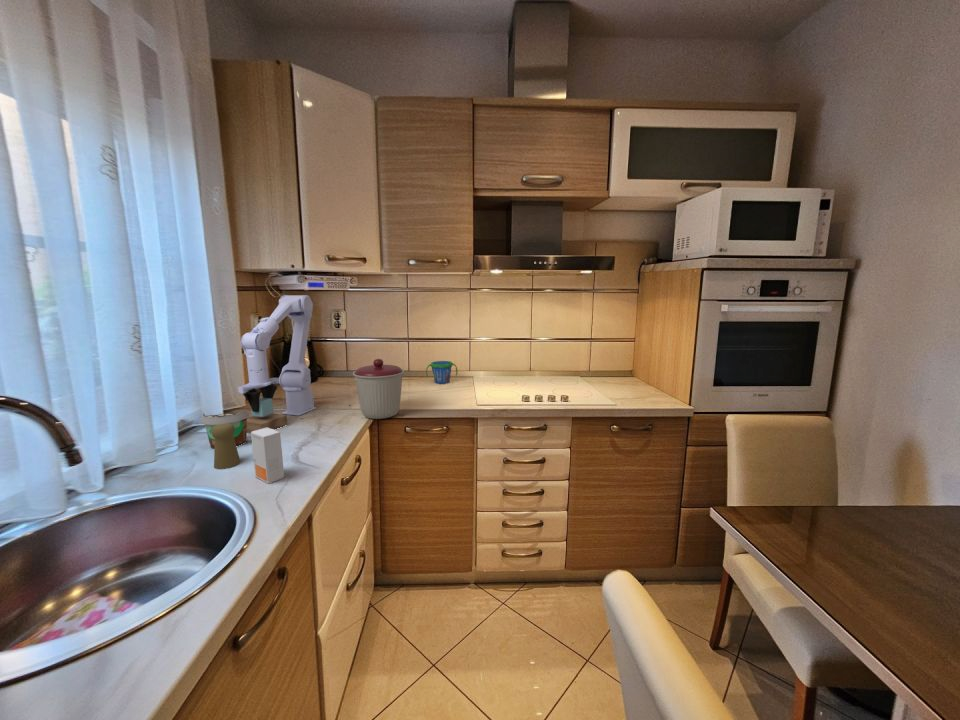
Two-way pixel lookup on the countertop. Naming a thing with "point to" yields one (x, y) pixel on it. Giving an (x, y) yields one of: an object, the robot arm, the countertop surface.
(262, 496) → the countertop surface
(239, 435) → the food container
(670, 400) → the countertop surface
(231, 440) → the cork
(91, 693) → the countertop surface
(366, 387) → the canister
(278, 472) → the skincare box
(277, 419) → the walnut block
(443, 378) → the snack cup
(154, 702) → the countertop surface
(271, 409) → the teal block
